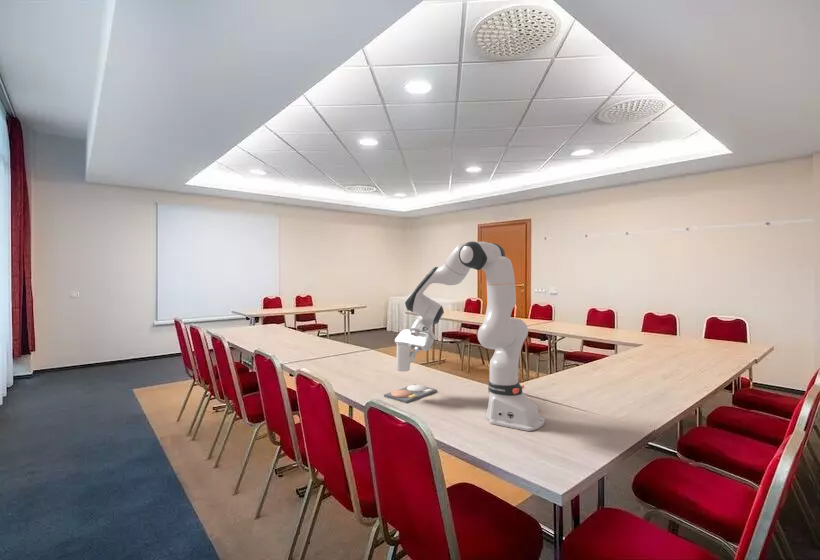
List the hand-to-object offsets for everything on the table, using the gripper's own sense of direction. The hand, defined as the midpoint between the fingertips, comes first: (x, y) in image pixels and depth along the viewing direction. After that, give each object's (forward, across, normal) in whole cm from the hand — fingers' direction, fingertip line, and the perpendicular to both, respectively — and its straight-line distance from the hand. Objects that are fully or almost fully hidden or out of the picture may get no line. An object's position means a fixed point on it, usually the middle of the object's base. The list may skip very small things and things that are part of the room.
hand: (405, 354), depth 182 cm
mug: (+4, 0, +6) cm, 7 cm away
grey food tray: (+11, -1, +18) cm, 20 cm away
